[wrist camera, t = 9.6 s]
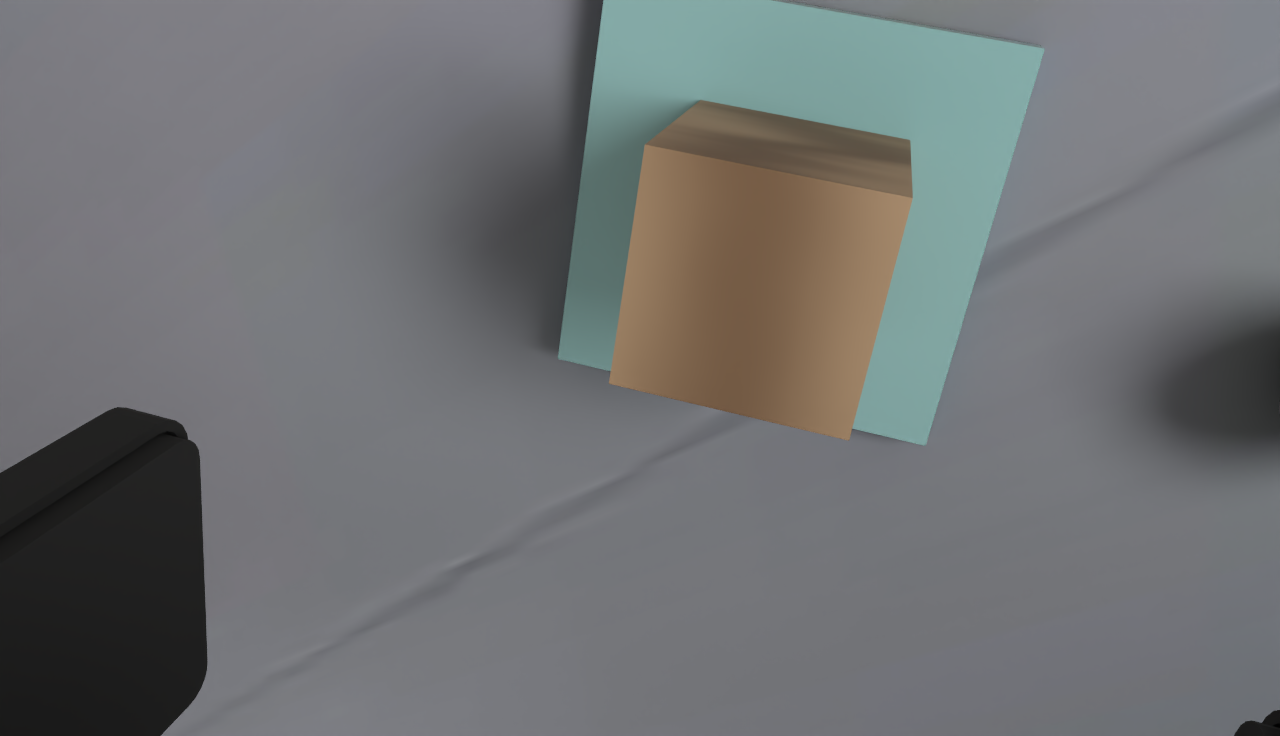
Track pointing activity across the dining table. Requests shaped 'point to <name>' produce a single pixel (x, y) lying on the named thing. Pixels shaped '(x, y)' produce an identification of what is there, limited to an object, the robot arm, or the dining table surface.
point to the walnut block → (761, 264)
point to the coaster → (826, 93)
